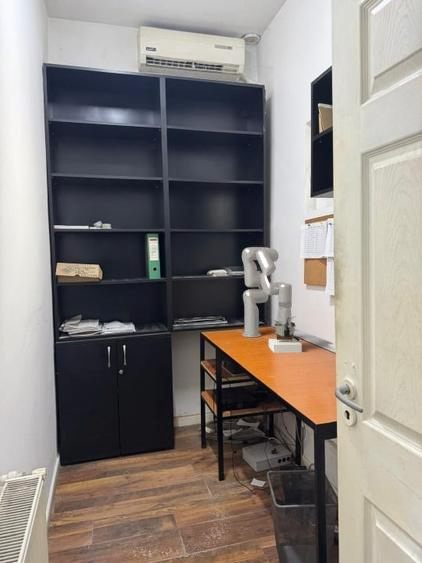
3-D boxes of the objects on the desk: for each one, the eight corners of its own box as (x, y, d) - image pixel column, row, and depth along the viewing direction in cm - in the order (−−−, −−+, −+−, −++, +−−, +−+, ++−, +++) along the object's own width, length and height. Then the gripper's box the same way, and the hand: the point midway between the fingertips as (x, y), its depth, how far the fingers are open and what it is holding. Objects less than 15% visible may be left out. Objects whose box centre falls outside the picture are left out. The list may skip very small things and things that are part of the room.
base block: (268, 347, 231) (268, 339, 231) (294, 346, 232) (294, 338, 231) (273, 353, 217) (273, 344, 217) (301, 352, 218) (301, 344, 217)
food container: (293, 337, 228) (294, 321, 226) (295, 340, 221) (295, 323, 220) (273, 337, 228) (273, 320, 227) (274, 340, 222) (274, 323, 221)
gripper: (273, 303, 230) (273, 332, 231) (284, 307, 213) (284, 339, 215) (285, 302, 231) (284, 331, 233) (297, 306, 215) (296, 338, 216)
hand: (284, 335), depth 224 cm, fingers closed on food container, 5 cm apart
